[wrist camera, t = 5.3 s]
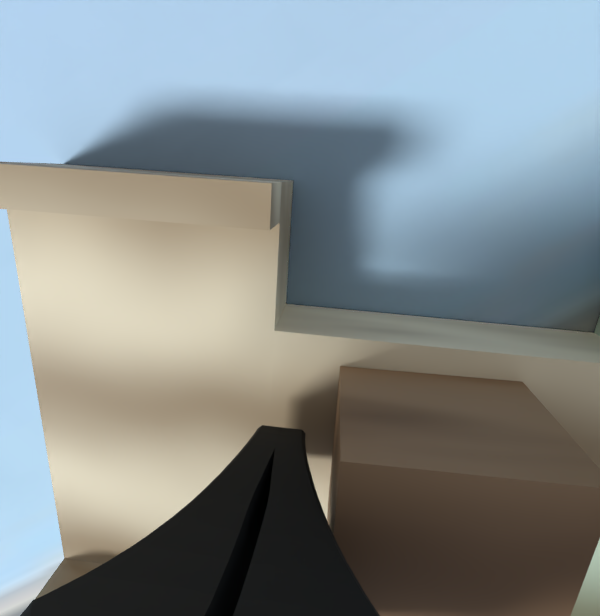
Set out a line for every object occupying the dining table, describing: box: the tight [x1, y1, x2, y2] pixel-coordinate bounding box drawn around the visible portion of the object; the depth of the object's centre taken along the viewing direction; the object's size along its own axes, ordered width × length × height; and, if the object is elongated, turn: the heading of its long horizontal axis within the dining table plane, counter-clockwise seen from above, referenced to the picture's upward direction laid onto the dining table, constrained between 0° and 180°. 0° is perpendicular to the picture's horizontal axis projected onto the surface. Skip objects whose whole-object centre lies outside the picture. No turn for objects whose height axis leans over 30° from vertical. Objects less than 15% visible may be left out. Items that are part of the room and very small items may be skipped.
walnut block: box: [327, 366, 600, 616], centre depth 10 cm, size 5×5×4 cm
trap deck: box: [0, 162, 600, 616], centre depth 12 cm, size 15×27×5 cm, turn 86°
